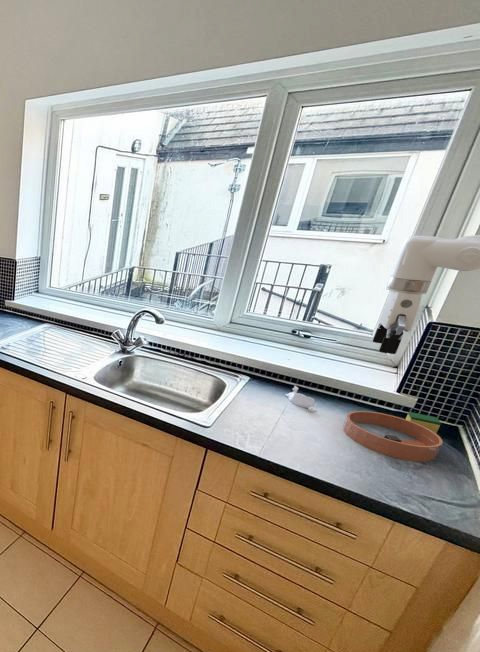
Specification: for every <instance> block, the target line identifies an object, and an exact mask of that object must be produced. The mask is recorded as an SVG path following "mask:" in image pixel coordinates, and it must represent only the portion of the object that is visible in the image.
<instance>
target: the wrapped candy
mask: <svg viewBox="0 0 480 652" xmlns="http://www.w3.org/2000/svg"><path fill="white" fill-rule="evenodd" d="M291 390H292V392H288V393H285V394H284V396H285V397H286V398H287V399H288V400H289V401H290V402H291V403H292V404H294V405H296V406H298V407H301V408H305V409H307V411H308V413H316V412H317V410H316V409H314V408H315V405H316V406H318V404H317V403H315V398H314V397H311V396H306V395H305V394H302V393H298V391H299V387H298V386H297V385H293V388H291Z"/></svg>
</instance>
